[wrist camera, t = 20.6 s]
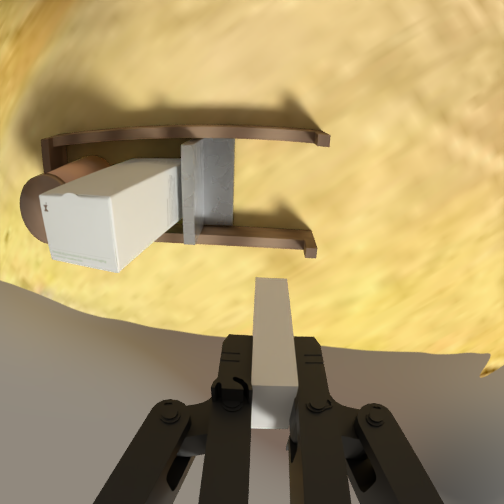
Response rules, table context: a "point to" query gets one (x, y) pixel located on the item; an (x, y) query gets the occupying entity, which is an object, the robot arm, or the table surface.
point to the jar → (50, 181)
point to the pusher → (206, 184)
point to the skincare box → (113, 212)
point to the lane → (210, 234)
